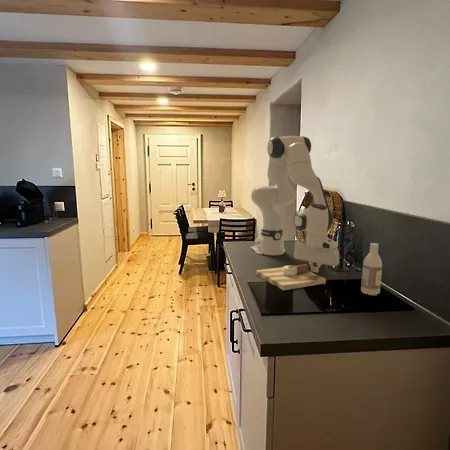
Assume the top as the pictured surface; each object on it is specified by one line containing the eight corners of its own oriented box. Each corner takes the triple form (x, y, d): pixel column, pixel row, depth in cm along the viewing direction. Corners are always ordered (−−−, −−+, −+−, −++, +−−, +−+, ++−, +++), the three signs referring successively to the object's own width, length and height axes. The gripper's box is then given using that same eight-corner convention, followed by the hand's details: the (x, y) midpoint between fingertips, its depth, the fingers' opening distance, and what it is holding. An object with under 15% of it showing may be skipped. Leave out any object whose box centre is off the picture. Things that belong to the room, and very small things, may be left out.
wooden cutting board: (256, 274, 152) (256, 270, 152) (295, 269, 161) (295, 264, 161) (283, 290, 133) (283, 285, 132) (325, 283, 142) (326, 278, 141)
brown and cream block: (289, 276, 142) (289, 268, 142) (280, 273, 148) (280, 265, 147) (311, 272, 149) (311, 264, 148) (301, 268, 154) (302, 261, 154)
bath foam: (373, 297, 127) (377, 246, 123) (357, 291, 132) (361, 243, 129) (383, 293, 130) (388, 244, 127) (367, 288, 136) (371, 241, 133)
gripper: (291, 238, 148) (290, 268, 151) (336, 246, 135) (333, 278, 138) (298, 236, 153) (297, 265, 155) (341, 243, 140) (339, 274, 142)
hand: (314, 271), depth 146 cm, fingers closed
